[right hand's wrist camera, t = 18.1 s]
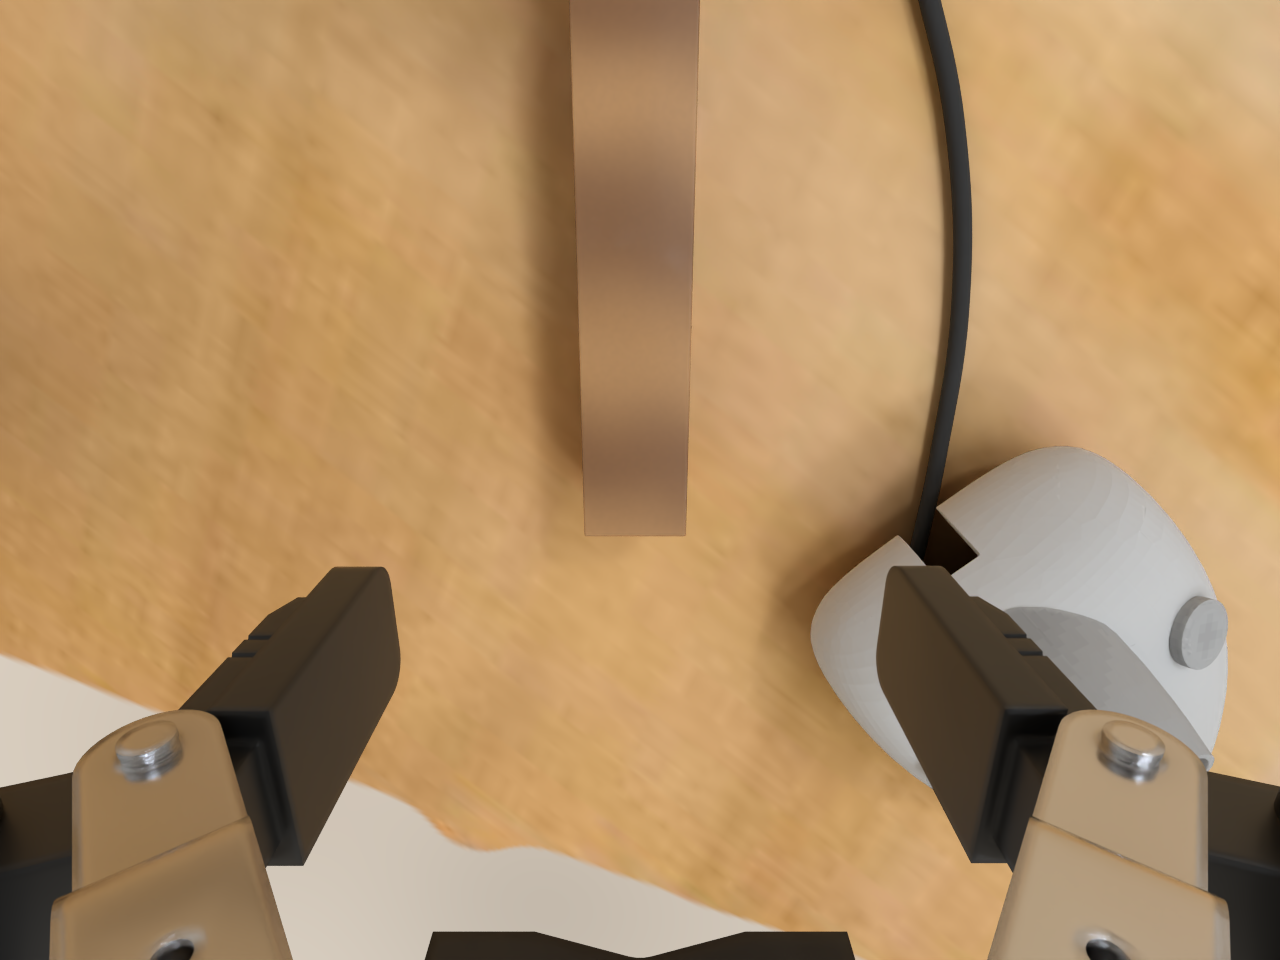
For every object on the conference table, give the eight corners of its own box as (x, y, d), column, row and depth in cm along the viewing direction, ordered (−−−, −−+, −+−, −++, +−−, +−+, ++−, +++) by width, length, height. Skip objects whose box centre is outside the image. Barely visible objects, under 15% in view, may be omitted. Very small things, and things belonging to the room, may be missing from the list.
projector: (774, 790, 42) (839, 1068, 28) (812, 420, 34) (929, 555, 20) (1142, 795, 42) (1387, 1073, 28) (1266, 426, 34) (1689, 565, 20)
